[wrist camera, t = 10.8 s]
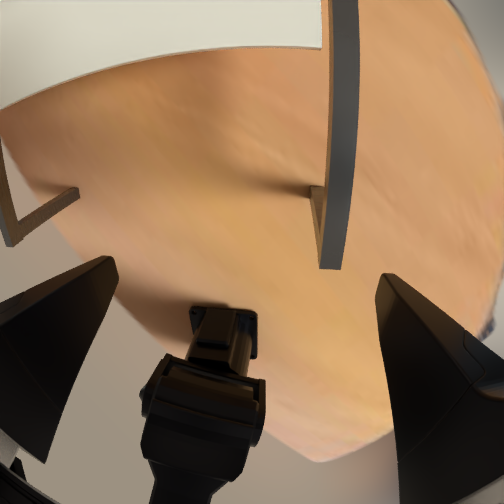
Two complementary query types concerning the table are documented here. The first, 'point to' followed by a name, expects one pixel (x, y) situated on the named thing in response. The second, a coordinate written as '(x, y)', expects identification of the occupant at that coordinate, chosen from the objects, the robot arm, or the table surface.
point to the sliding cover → (136, 35)
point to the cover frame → (321, 198)
